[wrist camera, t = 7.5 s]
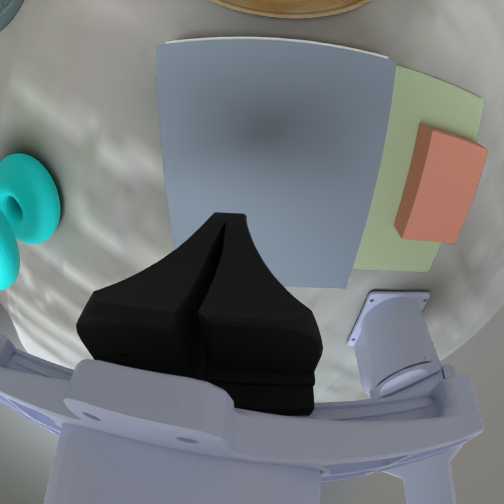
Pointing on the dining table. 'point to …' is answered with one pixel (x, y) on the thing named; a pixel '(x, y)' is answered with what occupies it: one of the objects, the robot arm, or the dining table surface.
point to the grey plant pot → (8, 11)
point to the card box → (439, 186)
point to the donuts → (24, 210)
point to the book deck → (276, 145)
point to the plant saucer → (292, 7)
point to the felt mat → (399, 161)
